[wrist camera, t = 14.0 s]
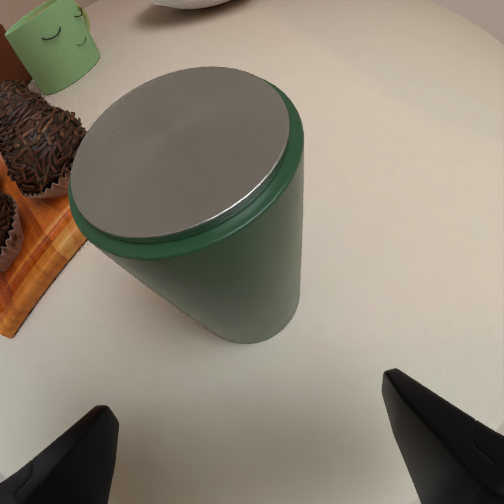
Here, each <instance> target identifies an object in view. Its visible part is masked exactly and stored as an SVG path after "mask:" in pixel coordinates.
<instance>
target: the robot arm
mask: <svg viewBox="0 0 504 504" xmlns="http://www.w3.org/2000/svg"><path fill="white" fill-rule="evenodd" d="M382 396H383V399H384V402H385V406H386V409H387V413H388V416H389V420H390V423H391V427H392V430H393V434H394V437H395V439H396V442H397V444H398V446H399V449H400V451H401V454H402V456H403V459H404V461H405V463H406V466H407V468H408V471H409V473H410V476H411V478H412V481H413V483H414V486H415V489H416V491H417V494H418V496H419V499H420V501H421V504H504V436H503V435H501V434H499V433H497V432H495V431H494V430H492V429H490V428H489V427H487V426H485V425H484V424H482V423H481V422H479V421H477V420H476V421H475V419H474V418H473V417H471V416H469V415H468V414H466V413H465V412H463V411H462V410H460V409H459V408H457V407H455V406H454V405H452V404H451V403H449V402H448V401H446V400H445V399H443V398H442V397H440V396H438V395H437V394H435V393H434V392H432V391H431V390H429V389H428V388H426V387H425V386H423V385H422V384H420V383H419V382H417V381H415V380H414V379H412V378H411V377H409V376H408V375H406V374H405V373H403V372H402V371H400V370H399V369H396V368H394V369H391V370H387V371H385V372H384V374H383V382H382ZM118 432H119V422H118V420H117V418H116V417H115V415H114V414H113V412H112V411H111V409H110V408H109V407H108V406H106V405H97V406H95V407H94V408H93V409H92V410H90V411H89V412H88V413H87V414H86V415H85V416H83V417H82V418H81V419H80V420H79V421H77V422H76V423H75V424H74V425H73V426H72V427H70V428H69V429H68V430H67V431H66V432H64V433H63V434H62V435H61V436H60V437H59V438H57V439H56V440H55V441H54V442H53V443H51V444H50V445H49V446H48V447H47V448H45V449H44V450H43V451H42V452H41V453H39V454H38V455H37V456H36V457H35V458H33V460H31V461H30V462H29V463H27V464H26V465H25V466H24V467H22V468H21V469H20V470H19V471H17V472H16V473H14V474H13V475H12V476H10V477H9V478H7V479H6V480H4V481H3V482H1V483H0V504H108V500H109V494H110V488H111V483H112V478H113V473H114V468H115V461H116V452H117V442H118Z"/></svg>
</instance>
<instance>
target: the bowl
mask: <svg viewBox="0 0 504 504" xmlns="http://www.w3.org/2000/svg"><path fill="white" fill-rule="evenodd" d="M227 1H230V0H151V2H152V3H154V4H156V5H164V6H168V7H173V8H180V9H200V8H206V7H211V6H215V5H219V4H222V3H225V2H227Z"/></svg>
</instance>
